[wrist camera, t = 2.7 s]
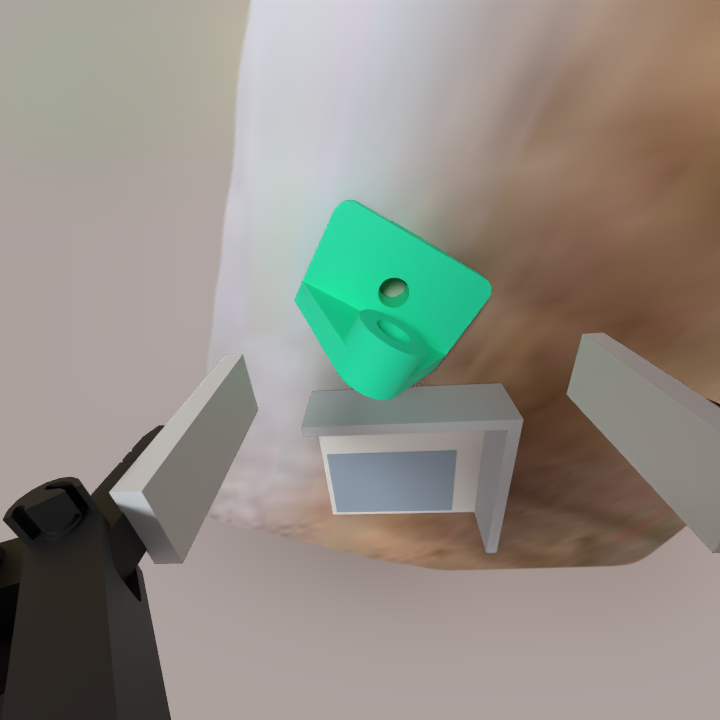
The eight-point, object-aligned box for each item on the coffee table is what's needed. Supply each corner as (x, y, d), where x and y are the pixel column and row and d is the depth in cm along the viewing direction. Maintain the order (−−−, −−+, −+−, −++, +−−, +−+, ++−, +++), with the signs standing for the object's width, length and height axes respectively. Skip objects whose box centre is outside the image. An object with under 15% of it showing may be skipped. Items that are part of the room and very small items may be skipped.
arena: (311, 391, 30) (301, 427, 26) (501, 382, 29) (523, 419, 25) (333, 511, 38) (328, 554, 34) (482, 508, 37) (496, 552, 33)
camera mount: (486, 276, 25) (550, 332, 16) (429, 354, 28) (455, 437, 19) (344, 192, 22) (324, 202, 13) (301, 288, 26) (262, 348, 17)
